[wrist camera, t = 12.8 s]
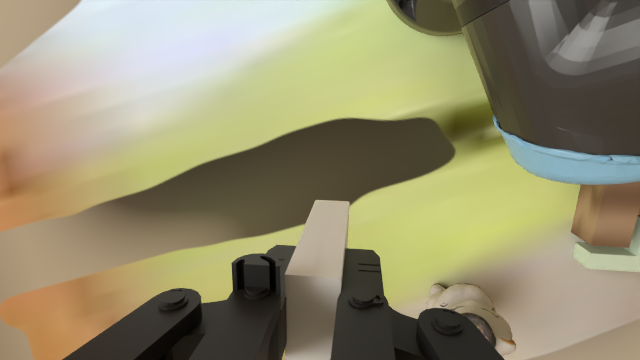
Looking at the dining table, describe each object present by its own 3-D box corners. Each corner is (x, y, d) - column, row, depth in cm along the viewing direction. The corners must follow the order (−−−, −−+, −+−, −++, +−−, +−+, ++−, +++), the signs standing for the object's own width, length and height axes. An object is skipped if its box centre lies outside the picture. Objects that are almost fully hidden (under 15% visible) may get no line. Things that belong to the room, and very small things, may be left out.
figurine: (487, 260, 46) (546, 338, 31) (471, 325, 48) (519, 425, 34) (421, 251, 46) (448, 323, 32) (408, 315, 49) (429, 409, 35)
